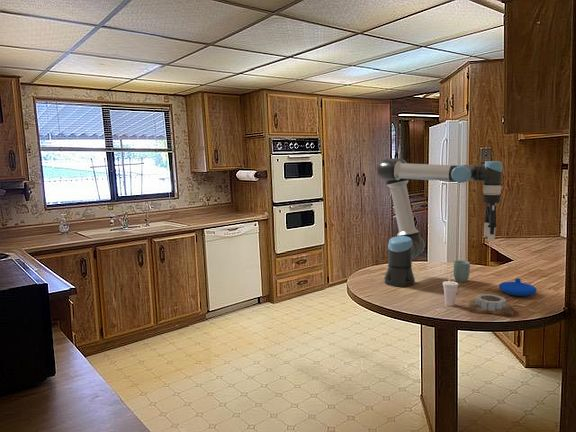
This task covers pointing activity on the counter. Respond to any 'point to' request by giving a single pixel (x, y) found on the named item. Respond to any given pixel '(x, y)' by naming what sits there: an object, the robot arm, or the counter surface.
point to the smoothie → (450, 292)
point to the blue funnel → (517, 288)
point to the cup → (461, 270)
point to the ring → (490, 302)
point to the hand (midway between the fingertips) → (488, 238)
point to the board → (504, 312)
